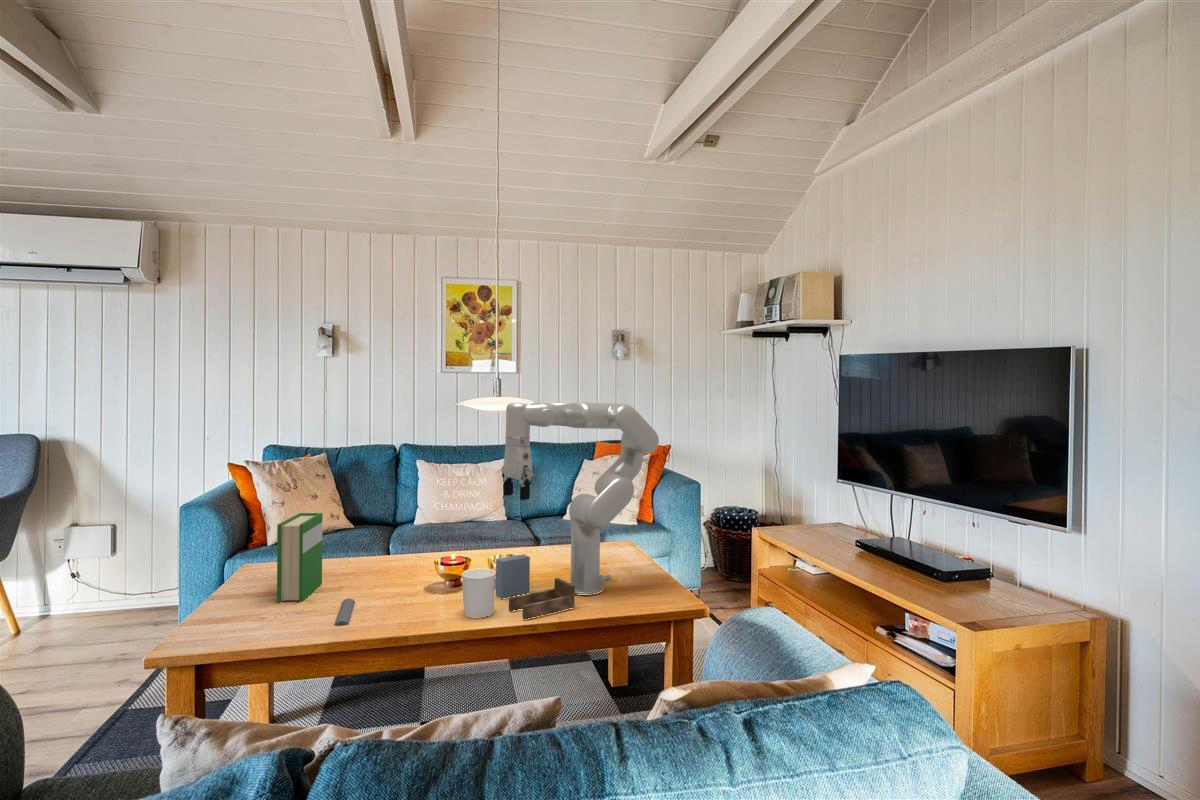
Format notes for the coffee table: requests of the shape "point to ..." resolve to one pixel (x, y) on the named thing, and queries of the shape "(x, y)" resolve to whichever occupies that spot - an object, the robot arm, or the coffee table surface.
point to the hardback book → (299, 556)
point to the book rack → (545, 600)
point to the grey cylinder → (478, 592)
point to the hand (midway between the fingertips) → (516, 497)
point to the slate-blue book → (512, 576)
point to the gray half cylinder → (345, 612)
